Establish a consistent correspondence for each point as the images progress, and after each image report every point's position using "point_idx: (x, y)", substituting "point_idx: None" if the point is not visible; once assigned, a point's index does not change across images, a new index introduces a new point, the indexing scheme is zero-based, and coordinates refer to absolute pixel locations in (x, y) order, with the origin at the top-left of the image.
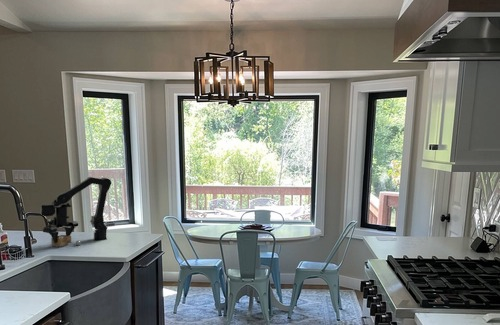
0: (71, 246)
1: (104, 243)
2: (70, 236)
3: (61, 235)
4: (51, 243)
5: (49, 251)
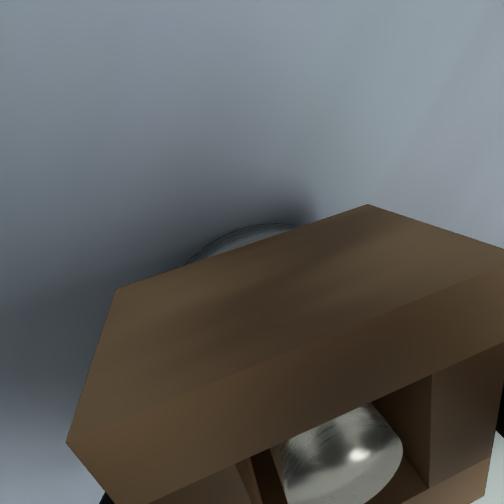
0: None
1: (496, 478)
2: (463, 496)
3: (457, 328)
4: (114, 305)
5: (12, 501)
